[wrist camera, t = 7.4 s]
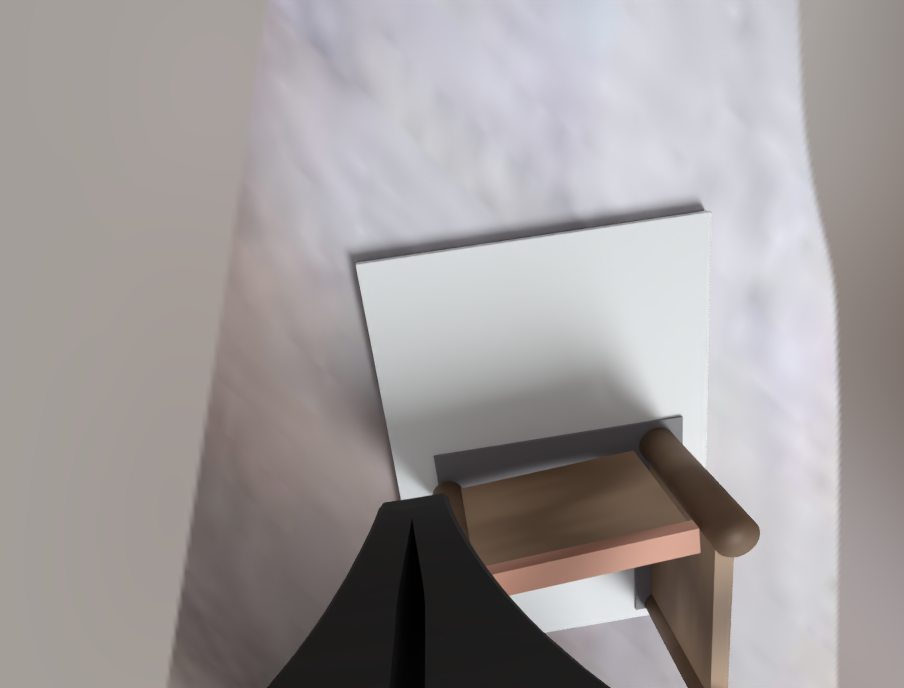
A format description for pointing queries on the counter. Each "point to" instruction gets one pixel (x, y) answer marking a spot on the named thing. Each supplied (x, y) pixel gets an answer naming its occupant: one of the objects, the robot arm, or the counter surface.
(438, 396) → the card
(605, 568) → the panel
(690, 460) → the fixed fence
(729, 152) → the counter surface
